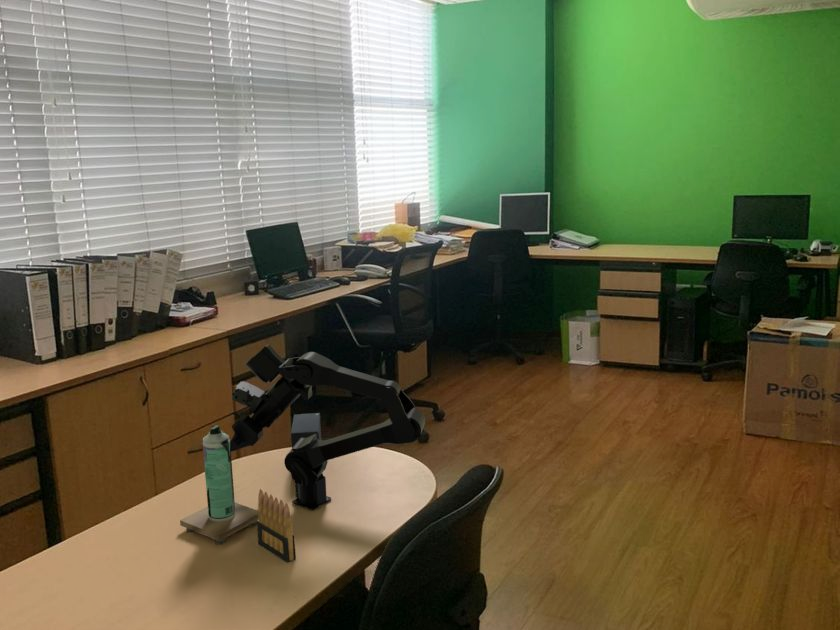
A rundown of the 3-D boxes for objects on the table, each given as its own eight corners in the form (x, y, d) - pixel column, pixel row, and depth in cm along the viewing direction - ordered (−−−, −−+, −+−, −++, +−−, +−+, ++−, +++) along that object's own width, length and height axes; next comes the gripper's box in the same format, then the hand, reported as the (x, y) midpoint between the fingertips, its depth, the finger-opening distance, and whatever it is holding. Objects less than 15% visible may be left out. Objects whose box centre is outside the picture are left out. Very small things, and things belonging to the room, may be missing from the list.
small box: (295, 457, 200) (293, 413, 198) (322, 456, 201) (320, 412, 199) (293, 479, 188) (290, 432, 185) (321, 477, 188) (319, 430, 186)
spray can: (239, 510, 167) (232, 422, 162) (230, 522, 161) (223, 431, 157) (214, 509, 167) (207, 421, 163) (204, 521, 162) (197, 431, 157)
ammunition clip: (296, 559, 151) (293, 502, 149) (288, 563, 150) (285, 506, 147) (265, 540, 159) (262, 486, 156) (257, 544, 157) (254, 489, 155)
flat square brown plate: (263, 522, 166) (262, 512, 166) (219, 546, 157) (218, 535, 156) (225, 508, 173) (224, 498, 172) (181, 531, 163) (179, 520, 163)
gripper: (266, 360, 179) (224, 404, 183) (238, 384, 161) (191, 433, 165) (301, 393, 180) (258, 436, 184) (276, 421, 162) (229, 469, 166)
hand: (235, 442), depth 175 cm, fingers open, 9 cm apart
